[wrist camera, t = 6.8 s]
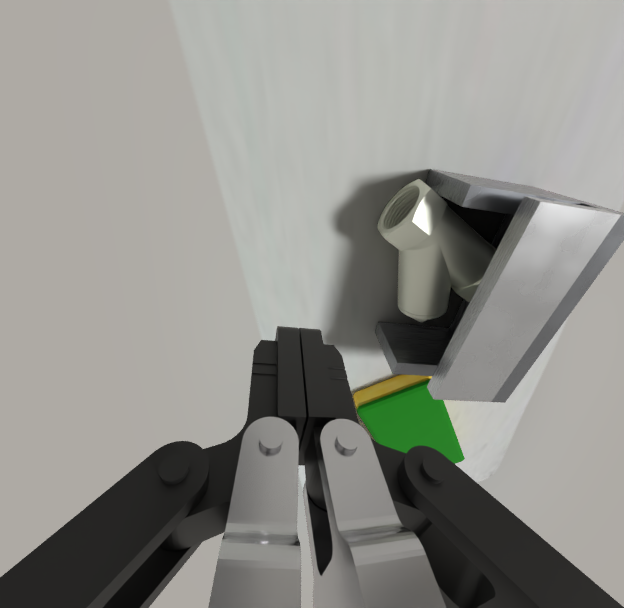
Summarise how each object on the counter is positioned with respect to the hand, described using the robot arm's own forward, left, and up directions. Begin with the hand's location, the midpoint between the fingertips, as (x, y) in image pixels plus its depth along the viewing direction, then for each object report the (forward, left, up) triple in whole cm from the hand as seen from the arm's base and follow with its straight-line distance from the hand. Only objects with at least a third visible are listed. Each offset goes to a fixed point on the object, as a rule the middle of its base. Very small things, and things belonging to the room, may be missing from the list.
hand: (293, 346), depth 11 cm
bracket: (0, +11, -10) cm, 15 cm away
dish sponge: (+17, +14, -11) cm, 25 cm away
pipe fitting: (0, +9, -11) cm, 14 cm away
